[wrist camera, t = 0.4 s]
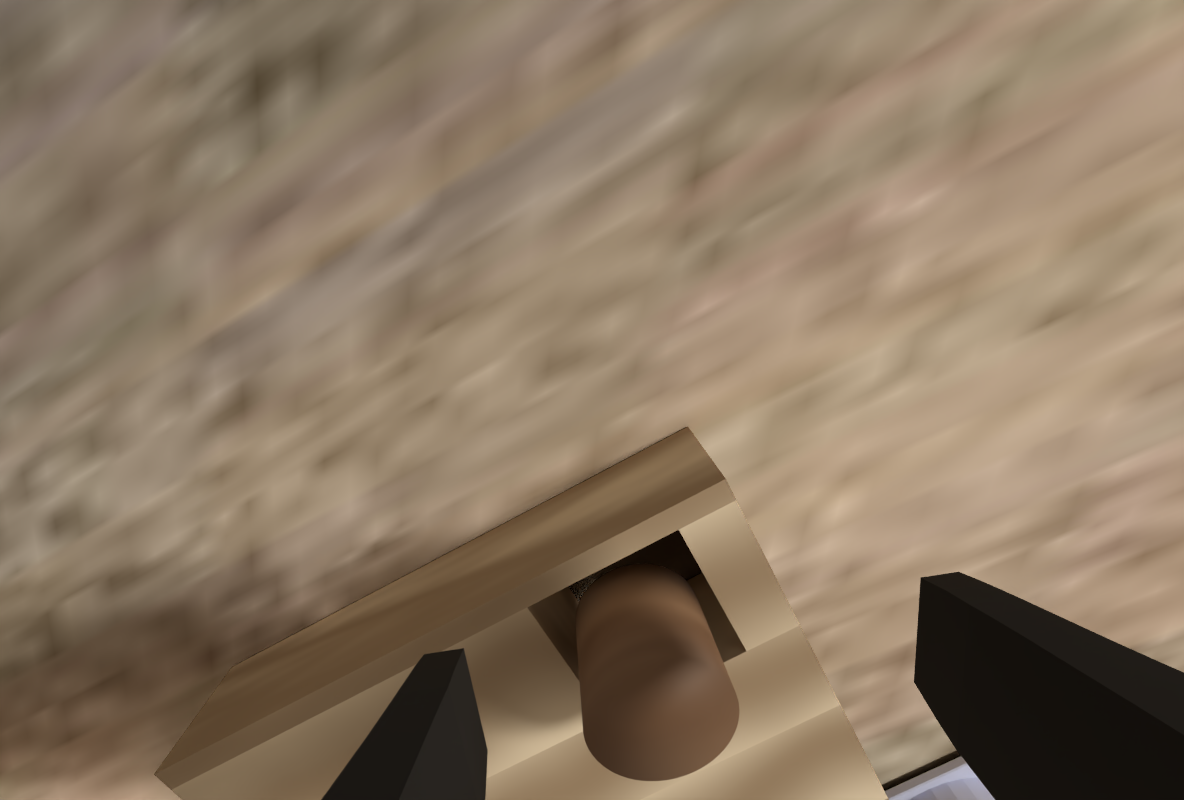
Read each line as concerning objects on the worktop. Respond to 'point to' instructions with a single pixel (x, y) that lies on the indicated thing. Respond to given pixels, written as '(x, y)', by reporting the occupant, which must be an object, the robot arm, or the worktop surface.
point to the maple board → (539, 659)
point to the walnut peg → (651, 676)
